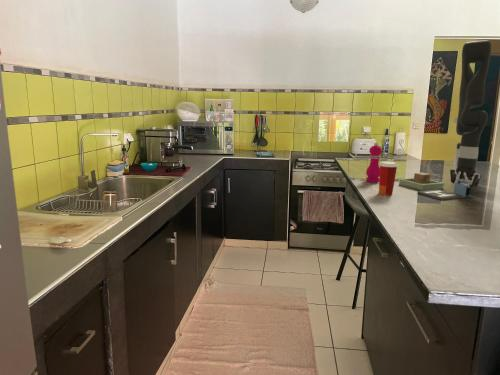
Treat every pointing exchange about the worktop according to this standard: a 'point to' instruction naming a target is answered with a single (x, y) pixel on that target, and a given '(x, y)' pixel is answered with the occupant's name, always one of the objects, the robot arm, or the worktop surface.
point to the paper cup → (387, 177)
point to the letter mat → (440, 194)
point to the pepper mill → (374, 164)
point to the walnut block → (422, 178)
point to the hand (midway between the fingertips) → (462, 194)
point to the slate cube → (460, 189)
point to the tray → (421, 185)
